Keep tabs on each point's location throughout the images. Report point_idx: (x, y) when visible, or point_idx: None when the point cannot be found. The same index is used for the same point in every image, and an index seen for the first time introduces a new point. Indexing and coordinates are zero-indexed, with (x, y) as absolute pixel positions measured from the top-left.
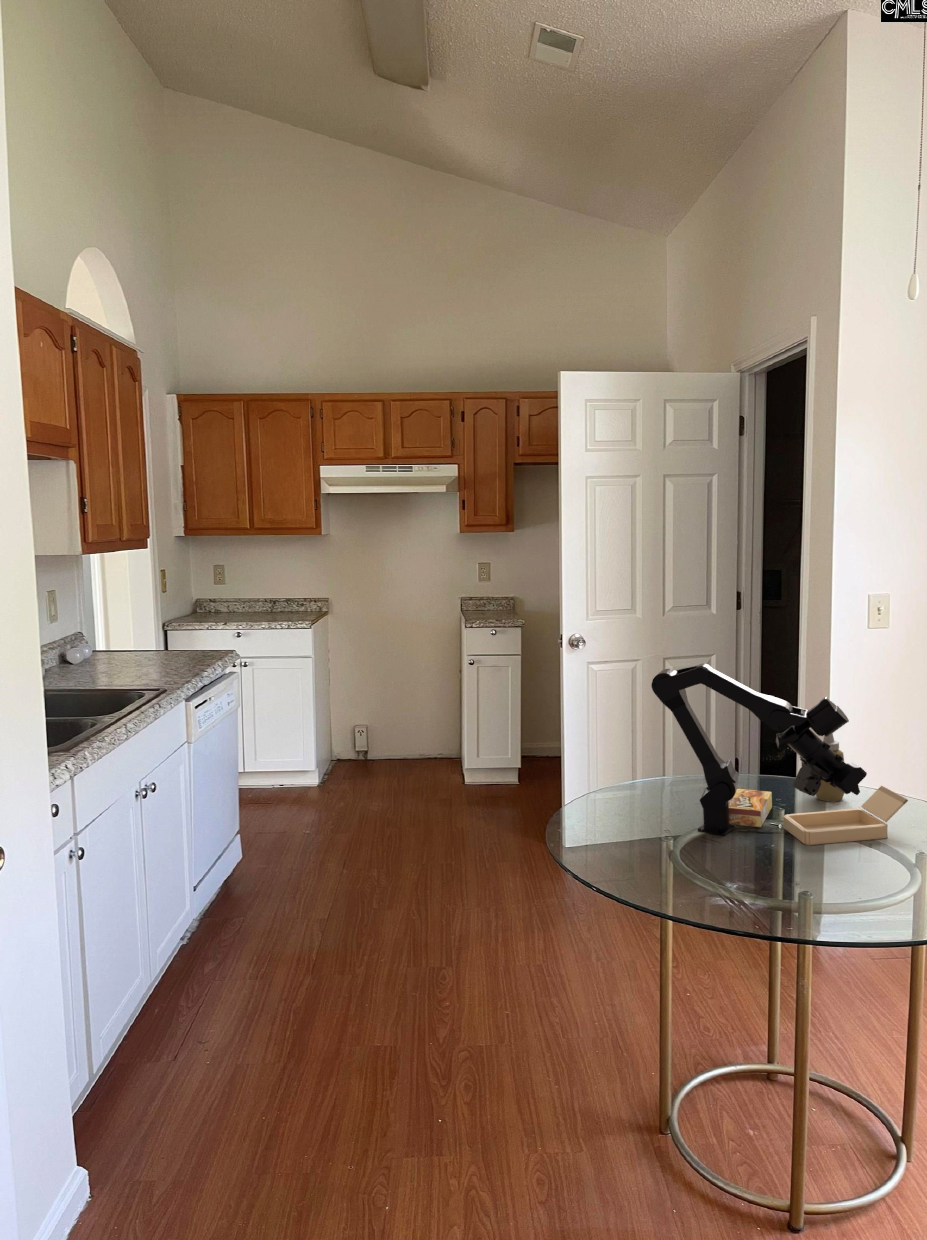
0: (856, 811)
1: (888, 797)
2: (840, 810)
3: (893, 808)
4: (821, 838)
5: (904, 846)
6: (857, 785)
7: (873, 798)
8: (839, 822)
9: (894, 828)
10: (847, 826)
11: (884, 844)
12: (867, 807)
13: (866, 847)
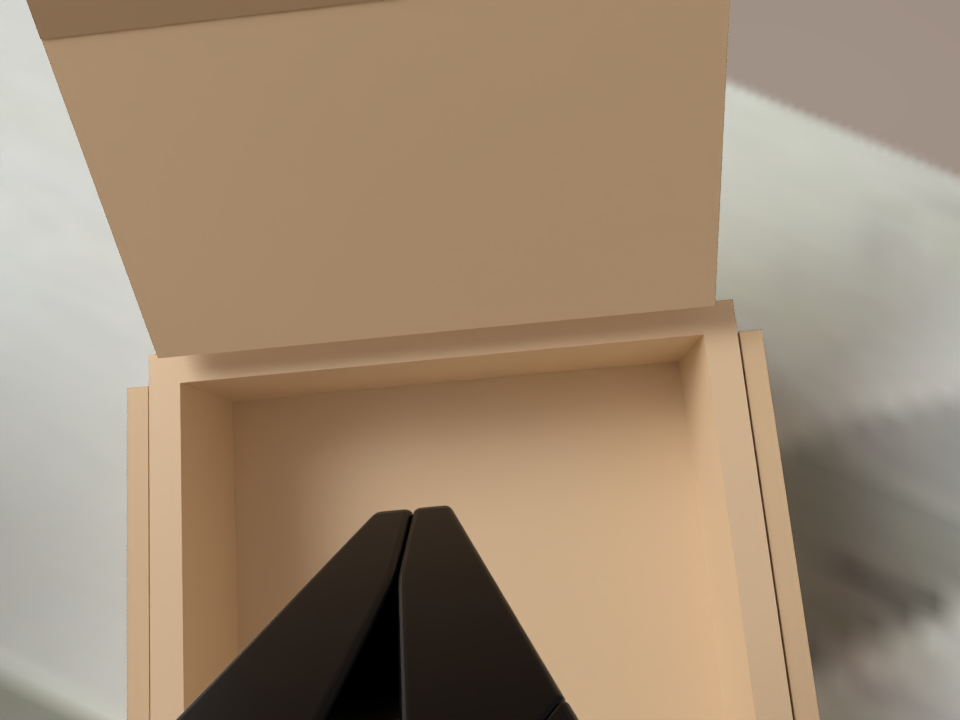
0: (187, 422)
1: (386, 37)
2: (154, 617)
3: (659, 118)
4: None
5: (931, 278)
6: (504, 608)
7: (179, 187)
8: (237, 627)
9: None
10: None
11: (864, 434)
12: (264, 319)
13: (937, 646)
